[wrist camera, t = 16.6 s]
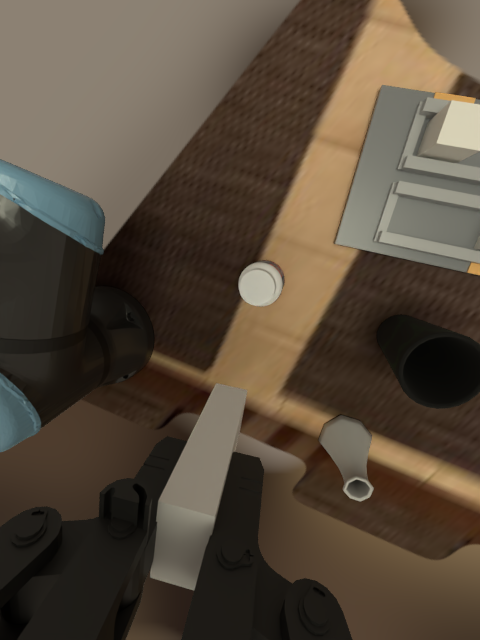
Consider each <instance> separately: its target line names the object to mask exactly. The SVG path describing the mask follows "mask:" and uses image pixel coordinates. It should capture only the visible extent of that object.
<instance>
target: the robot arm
mask: <svg viewBox="0 0 480 640" xmlns="http://www.w3.org/2000/svg"><path fill="white" fill-rule="evenodd" d="M104 226H105V216H104V212H103V210H102V209H101V207H100V206H99V204H98V203H97V202H95V201H94V200H93V199H91V198H89V197H87V196H85V195H83V194H81V193H78V192H76V191H74V190H72V189H69V188H67V187H65V186H62V185H60V184H58V183H55V182H53V181H51V180H48V179H46V178H43V177H41V176H39V175H37V174H34V173H32V172H30V171H27V170H25V169H22V168H20V167H18V166H16V165H13V164H11V163H8V162H6V161H4V160H1V159H0V452H3V451H5V450H8V449H10V448H11V447H13V446H15V445H16V444H18V443H19V442H21V441H23V440H24V439H26V438H28V437H30V436H33V435H35V434H36V433H38V432H39V430H40V429H41V428H42V427H44V426H45V425H46V424H48V423H49V422H50V421H52V420H53V419H54V418H56V417H57V416H58V415H60V414H61V413H63V412H64V411H65V410H67V409H68V408H69V407H71V406H72V405H74V404H75V403H76V402H78V401H79V400H81V399H82V398H83V397H85V396H86V395H88V394H89V393H90V392H92V391H93V390H94V389H96V388H97V387H101V386H105V385H109V384H114V383H118V382H122V381H124V380H127V379H129V378H130V377H132V376H133V375H135V374H136V373H137V372H139V371H140V370H141V369H142V368H143V367H144V366H145V365H146V364H147V362H148V361H149V359H150V357H151V354H152V351H153V347H154V333H153V328H152V324H151V321H150V319H149V317H148V315H147V313H146V311H145V310H144V308H143V307H142V306H141V305H140V303H139V302H138V301H137V300H136V299H134V298H133V297H132V296H131V295H129V294H128V293H126V292H124V291H122V290H120V289H117V288H114V287H109V286H97V287H95V285H96V280H97V275H98V269H99V264H100V259H101V254H103V252H104V250H103V248H102V244H103V233H104ZM246 395H247V390H245V389H240V388H236V387H231V386H227V385H222V384H218V383H216V385H215V387H214V389H213V391H212V393H211V395H210V397H209V399H208V401H207V403H206V405H205V407H204V409H203V411H202V413H201V415H200V417H199V419H198V421H197V423H196V425H195V427H194V429H193V431H192V433H191V436H190V437H189V440H188V441H184V440H180V439H176V438H172V437H166V438H164V439H163V440H161V441H160V442H159V443H157V444H156V445H155V447H154V449H153V450H152V452H151V453H150V455H149V457H148V458H147V459H146V461H145V463H144V465H143V466H142V467H141V469H140V470H139V472H138V474H137V475H136V477H135V478H134V479H131V478H127V479H121V480H117V481H115V482H113V483H111V484H109V485H108V486H107V487H105V489H104V490H102V491H101V492H100V504H99V517H96V518H94V519H88V520H78V521H62V519H61V515H60V514H59V512H58V511H57V510H56V509H53V508H50V507H35V508H32V509H29V510H26V511H23V512H22V513H20V514H18V515H17V516H15V517H13V518H12V519H10V520H9V521H8V522H6V523H5V524H4V525H2V526H1V527H0V640H126V637H127V635H128V632H129V630H130V627H131V625H132V622H133V620H134V617H135V615H136V612H137V609H138V607H139V605H140V602H141V597H142V593H143V585H144V582H145V580H146V577H147V575H148V573H149V570H150V568H151V573H150V577H151V578H154V579H158V580H161V581H164V582H167V583H171V584H174V585H178V586H181V587H185V588H188V589H191V590H194V594H193V597H192V601H191V605H190V609H189V613H188V617H187V621H186V624H185V628H184V632H183V635H182V639H181V640H352V637H351V634H350V631H349V629H348V626H347V623H346V620H345V617H344V614H343V611H342V610H341V607H340V605H339V604H338V601H337V599H336V598H335V597H334V596H333V594H332V593H331V592H330V591H329V590H328V589H327V588H326V587H324V586H323V585H322V584H320V583H318V582H317V581H315V580H310V579H300V580H296V581H295V582H294V583H293V584H292V583H291V582H289V581H288V580H286V579H285V578H283V577H282V576H281V575H279V574H277V573H276V572H275V571H274V570H273V569H272V568H270V566H269V565H268V564H267V563H266V561H265V560H264V558H263V556H262V554H261V552H260V549H259V545H258V529H259V518H260V507H261V496H262V495H261V494H262V486H263V485H262V484H263V475H264V469H263V466H262V464H261V461H260V458H258V457H253V456H250V455H245V454H241V453H237V452H235V450H236V446H237V442H238V437H239V432H240V427H241V422H242V416H243V411H244V406H245V400H246Z"/></svg>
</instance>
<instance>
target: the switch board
mask: <svg viewBox="0 0 480 640" xmlns="http://www.w3.org/2000/svg"><path fill="white" fill-rule="evenodd" d="M451 100H454V101H460V102H467V103H473V104H480V100H477V99H476V98H471V97H464V96H458V95H451V94H445V93H438V92H436V93H431V92H425V91H418V90H412V89H405V88H399V87H392V86H386V85H382V86H381V88H380V90H379V93H378V96H377V100H376V103H375V106H374V110H373V113H372V117H371V120H370V123H369V127H368V130H367V133H366V137H365V140H364V144H363V147H362V150H361V154H360V157H359V161H358V164H357V167H356V171H355V174H354V177H353V181H352V184H351V188H350V191H349V194H348V198H347V201H346V205H345V208H344V211H343V215H342V218H341V221H340V225H339V228H338V232H337V235H336V238H335V242H334V244H338V245H342V246H347V247H351V248H356V249H361V250H365V251H370V252H374V253H379V254H383V255H388V256H392V257H397V258H402V259H406V260H411V261H415V262H420V263H424V264H429V265H433V266H438V267H443V268H447V269H452V270H456V271H461V272H465V273H470V274H474V275H479V276H480V250H477V249H474V246H475V244H476V242H477V239H478V237H479V235H480V152H478V153H476V154H474V155H472V156H470V157H468V158H466V159H464V160H462V161H460V162H458V163H451V162H445V161H440V160H434V159H428V158H423V157H417V153H418V150H419V147H420V144H421V141H422V139H423V136H424V133H425V130H426V127H427V124H428V122H429V121H430V120H431V119H432V118H433V117H434V116H435V115H436V114H437V113H439V112H440V111H441V110H442V109H443V108H444V107H445V106H446V105H447V104H448V103H449V102H450V101H451Z"/></svg>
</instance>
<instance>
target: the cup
mask: <svg viewBox="0 0 480 640" xmlns="http://www.w3.org/2000/svg"><path fill="white" fill-rule="evenodd" d="M377 341H378V343H379V345H380V347H381V349H382V351H383V353H384V355H385V357H386V359H387V361H388V362H389V364H390V366H391V368H392V370H393V372H394V374H395V376H396V378H397V379H398V381H399V383H400V385H401V387H402V389H403V391H404V392H405V393H406V394H407V395H408V397H409V398H411V399H412V400H414V401H415V402H416V403H418V404H421V405H423V406H426V407H431V408H437V409H439V408H451V407H455V406H459V405H461V404H463V403H465V402H468V401H469V400H471V399H472V398H473V397H475V396H476V395H477V394H478V393H479V392H480V345H479V343H477V342H476V341H474V340H473V339H471V338H470V337H467V336H464V335H462V334H459V333H456V332H453V331H450V330H447V329H445V328H442V327H439V326H436V325H433V324H430V323H427V322H424V321H422V320H419V319H416V318H413V317H410V316H407V315H395V316H392V317H389V318H388V319H386V320H385V321H384V322H383V323H382V324H381V325H380V327H379V329H378V331H377Z"/></svg>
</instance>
